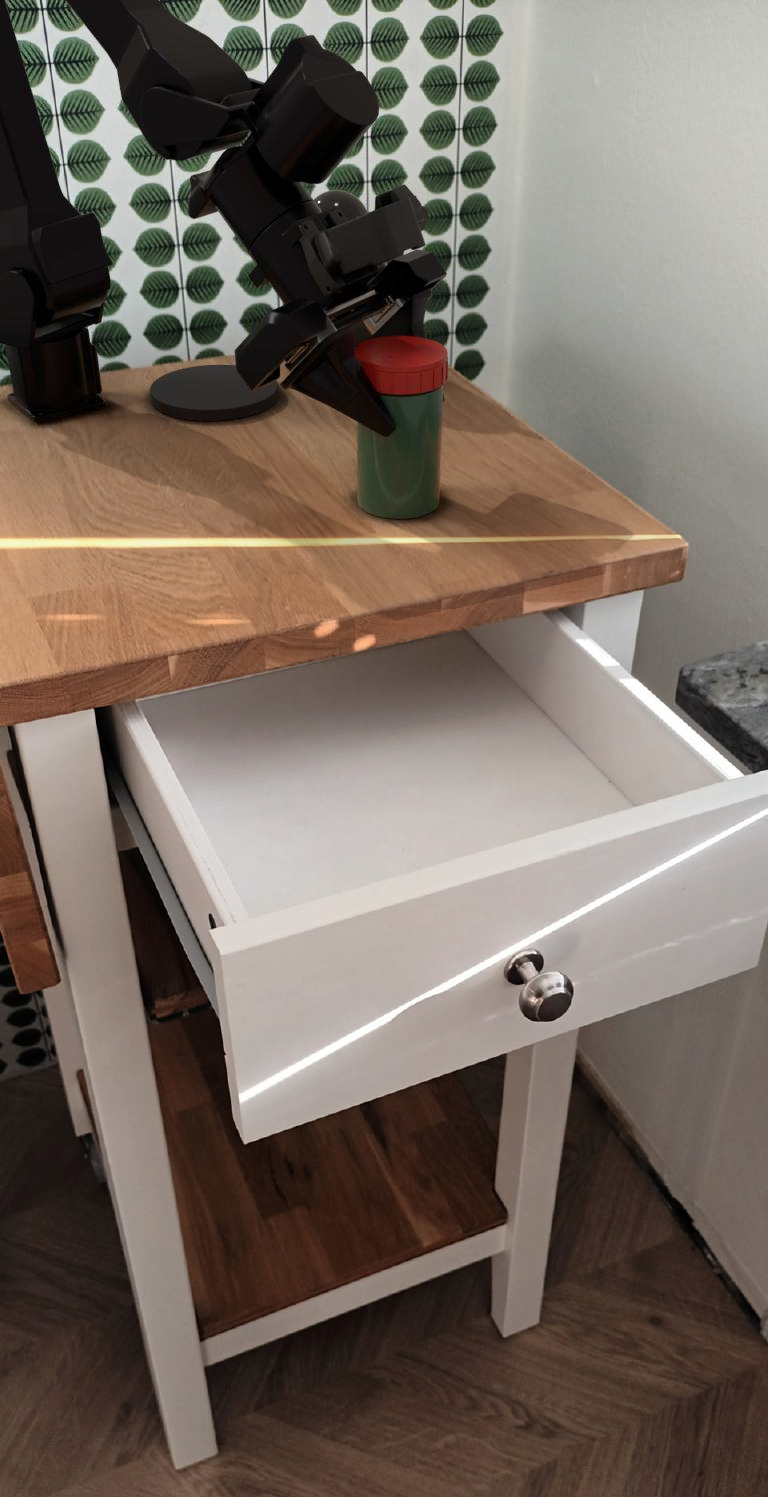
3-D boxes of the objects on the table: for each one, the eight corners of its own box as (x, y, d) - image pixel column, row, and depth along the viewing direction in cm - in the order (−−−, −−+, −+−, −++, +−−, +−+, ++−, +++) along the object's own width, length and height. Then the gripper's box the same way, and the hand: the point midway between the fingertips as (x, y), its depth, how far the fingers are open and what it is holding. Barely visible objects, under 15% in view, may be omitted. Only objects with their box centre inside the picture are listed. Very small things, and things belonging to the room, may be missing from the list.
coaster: (188, 431, 102) (187, 419, 101) (129, 391, 109) (128, 380, 109) (302, 403, 107) (302, 392, 106) (239, 367, 114) (238, 356, 114)
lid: (388, 402, 82) (388, 374, 81) (334, 373, 87) (334, 346, 85) (466, 382, 85) (467, 355, 84) (410, 356, 90) (411, 329, 89)
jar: (388, 526, 88) (389, 379, 82) (341, 496, 92) (339, 354, 86) (455, 505, 91) (461, 362, 85) (407, 477, 95) (410, 338, 88)
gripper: (260, 174, 73) (416, 396, 75) (426, 125, 86) (557, 316, 87) (171, 290, 81) (313, 487, 83) (334, 229, 94) (455, 402, 95)
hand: (416, 418), depth 87 cm, fingers closed on jar, lid, 6 cm apart
